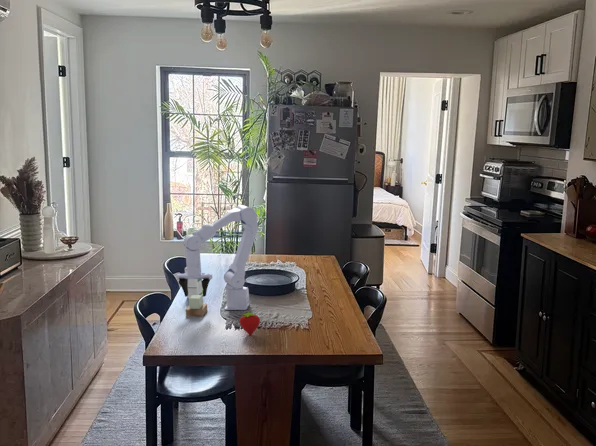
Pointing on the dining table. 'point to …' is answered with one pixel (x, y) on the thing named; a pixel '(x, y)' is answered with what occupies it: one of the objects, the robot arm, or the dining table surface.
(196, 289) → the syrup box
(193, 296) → the green cube
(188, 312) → the block
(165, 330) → the dining table surface
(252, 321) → the strawberry
